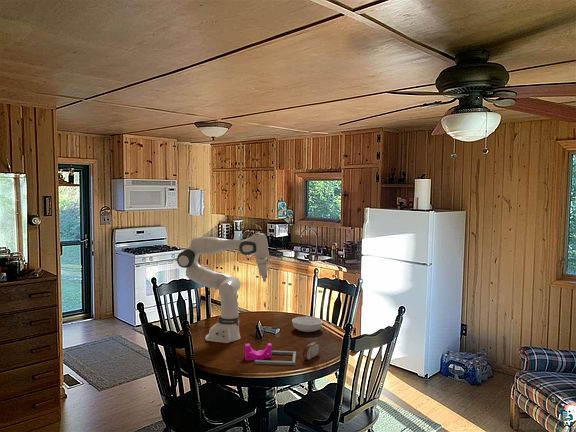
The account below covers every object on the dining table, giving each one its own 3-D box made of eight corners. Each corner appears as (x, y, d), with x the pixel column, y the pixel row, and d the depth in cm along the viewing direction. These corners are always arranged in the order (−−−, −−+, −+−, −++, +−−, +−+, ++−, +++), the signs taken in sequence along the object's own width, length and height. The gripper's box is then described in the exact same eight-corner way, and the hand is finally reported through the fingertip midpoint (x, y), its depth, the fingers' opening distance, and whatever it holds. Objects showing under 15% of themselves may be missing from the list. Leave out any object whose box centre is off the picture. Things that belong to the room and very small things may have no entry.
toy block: (245, 360, 245) (245, 347, 245) (245, 356, 251) (245, 343, 251) (271, 359, 247) (272, 346, 246) (271, 355, 253) (271, 343, 253)
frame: (254, 363, 240) (254, 361, 240) (258, 352, 257) (258, 350, 257) (294, 365, 239) (294, 362, 239) (296, 353, 256) (296, 351, 256)
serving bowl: (320, 336, 289) (320, 326, 288) (289, 333, 293) (289, 323, 292) (323, 327, 309) (324, 317, 309) (295, 324, 313) (295, 315, 313)
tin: (315, 353, 258) (316, 339, 257) (320, 354, 256) (320, 340, 256) (302, 361, 245) (302, 346, 245) (306, 362, 244) (307, 347, 243)
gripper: (259, 256, 285) (262, 276, 286) (255, 262, 264) (258, 284, 265) (269, 255, 284) (271, 275, 285) (266, 260, 264) (269, 283, 265)
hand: (265, 279), depth 275 cm, fingers open, 8 cm apart
